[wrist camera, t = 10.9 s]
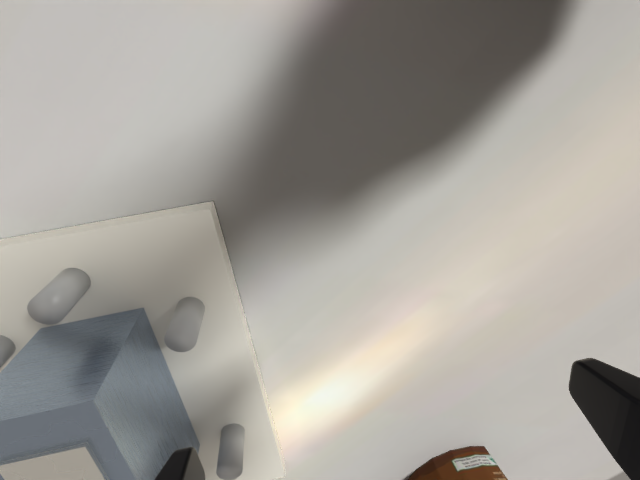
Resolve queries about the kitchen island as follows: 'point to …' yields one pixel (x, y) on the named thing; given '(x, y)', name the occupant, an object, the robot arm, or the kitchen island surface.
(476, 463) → the food container
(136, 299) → the cream pegged board
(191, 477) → the robot arm
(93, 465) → the block
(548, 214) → the kitchen island surface
